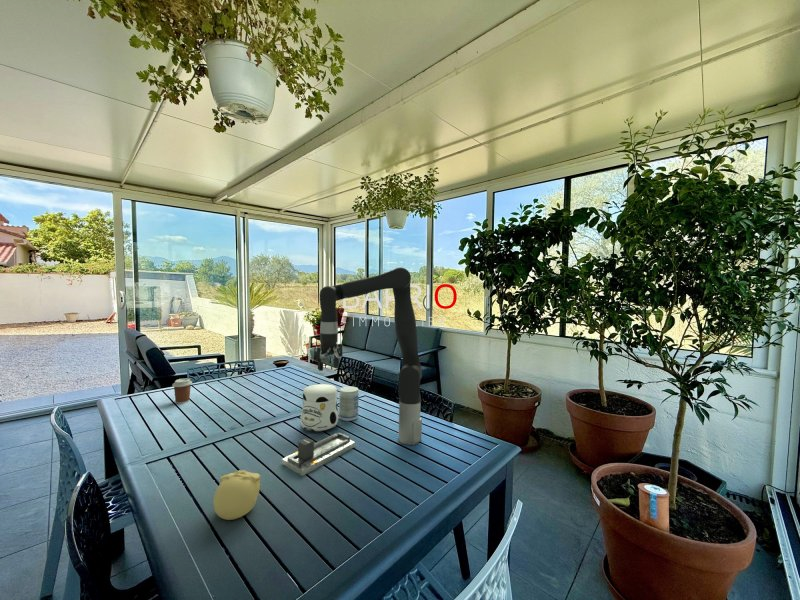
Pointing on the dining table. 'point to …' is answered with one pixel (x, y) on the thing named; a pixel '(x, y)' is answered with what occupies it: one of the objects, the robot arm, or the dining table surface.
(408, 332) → the robot arm
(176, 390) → the coffee cup
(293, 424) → the dining table surface
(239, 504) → the yellow rounded piece
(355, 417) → the supplement tub
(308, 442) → the fader knob
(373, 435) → the dining table surface
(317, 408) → the milk container
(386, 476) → the dining table surface
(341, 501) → the dining table surface
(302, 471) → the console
